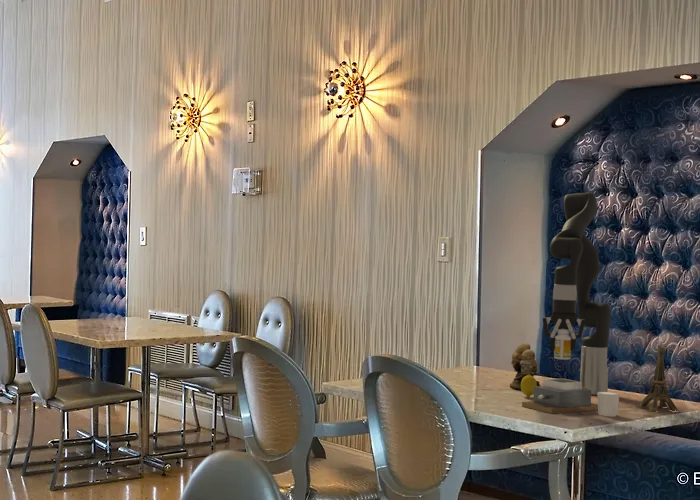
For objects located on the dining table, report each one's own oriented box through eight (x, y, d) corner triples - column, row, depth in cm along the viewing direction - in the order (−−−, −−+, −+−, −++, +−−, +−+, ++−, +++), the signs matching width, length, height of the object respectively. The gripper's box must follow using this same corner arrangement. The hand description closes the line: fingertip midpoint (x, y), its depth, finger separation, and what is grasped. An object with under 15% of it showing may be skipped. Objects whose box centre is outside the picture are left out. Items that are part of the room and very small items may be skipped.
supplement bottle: (571, 358, 326) (572, 329, 326) (569, 360, 321) (570, 330, 321) (555, 357, 328) (556, 328, 328) (552, 358, 323) (554, 329, 323)
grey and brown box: (571, 403, 336) (572, 376, 336) (601, 409, 324) (602, 382, 324) (521, 406, 324) (523, 379, 324) (551, 413, 313) (552, 385, 312)
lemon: (536, 398, 342) (537, 375, 342) (519, 397, 343) (520, 374, 343) (536, 396, 348) (537, 374, 348) (520, 395, 349) (521, 372, 349)
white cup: (593, 412, 318) (594, 391, 318) (614, 413, 318) (615, 391, 318) (600, 416, 311) (601, 394, 311) (621, 417, 312) (622, 394, 311)
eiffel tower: (650, 412, 323) (654, 336, 323) (636, 407, 334) (639, 333, 333) (680, 413, 325) (684, 337, 325) (665, 407, 335) (668, 334, 335)
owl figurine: (546, 393, 358) (548, 346, 358) (514, 392, 359) (515, 345, 358) (537, 385, 376) (539, 341, 376) (506, 384, 377) (508, 340, 376)
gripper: (587, 298, 326) (585, 350, 326) (543, 296, 330) (541, 347, 330) (586, 300, 319) (584, 352, 319) (541, 297, 322) (539, 349, 323)
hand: (562, 349), depth 324 cm, fingers closed on supplement bottle, 5 cm apart
